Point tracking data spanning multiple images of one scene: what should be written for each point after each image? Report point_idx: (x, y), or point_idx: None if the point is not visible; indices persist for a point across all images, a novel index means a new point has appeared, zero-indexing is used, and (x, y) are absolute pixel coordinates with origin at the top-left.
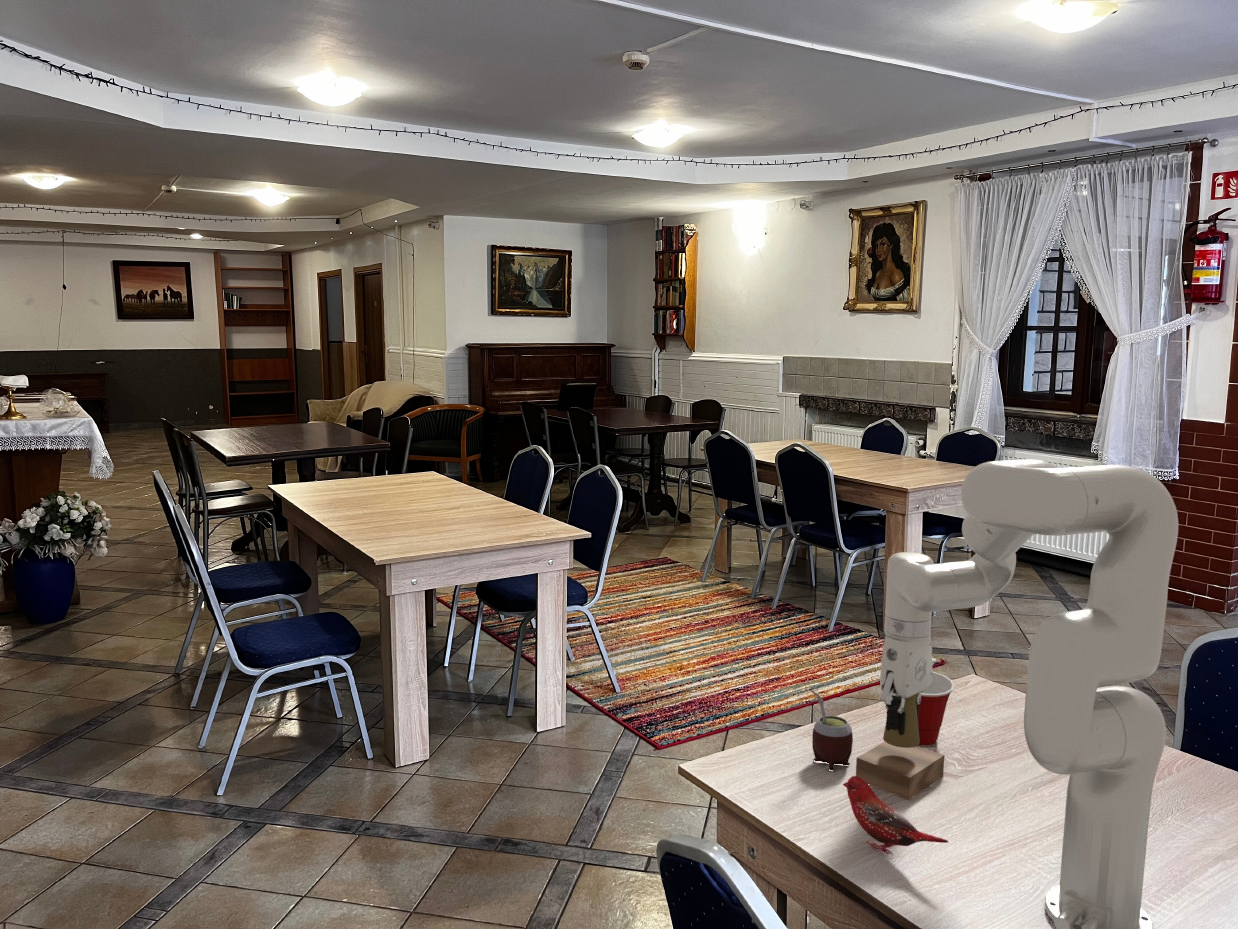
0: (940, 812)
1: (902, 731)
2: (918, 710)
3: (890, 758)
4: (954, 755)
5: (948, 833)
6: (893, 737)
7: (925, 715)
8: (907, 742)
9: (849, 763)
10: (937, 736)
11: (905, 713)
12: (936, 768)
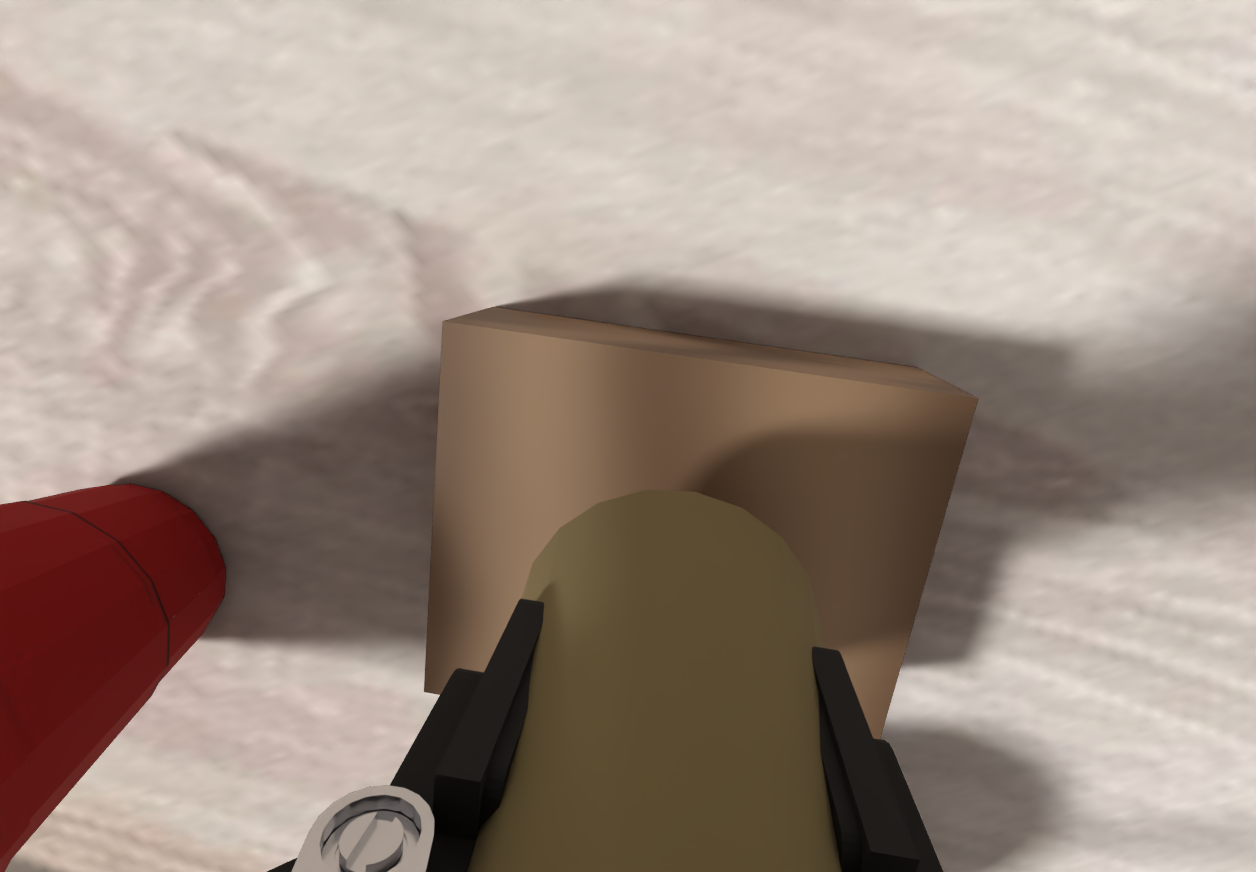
0: (961, 155)
1: (841, 675)
2: (473, 717)
3: None
4: (180, 348)
5: (1228, 5)
6: None
7: (50, 624)
8: (791, 569)
9: None
10: (89, 491)
11: (877, 841)
12: (570, 330)
